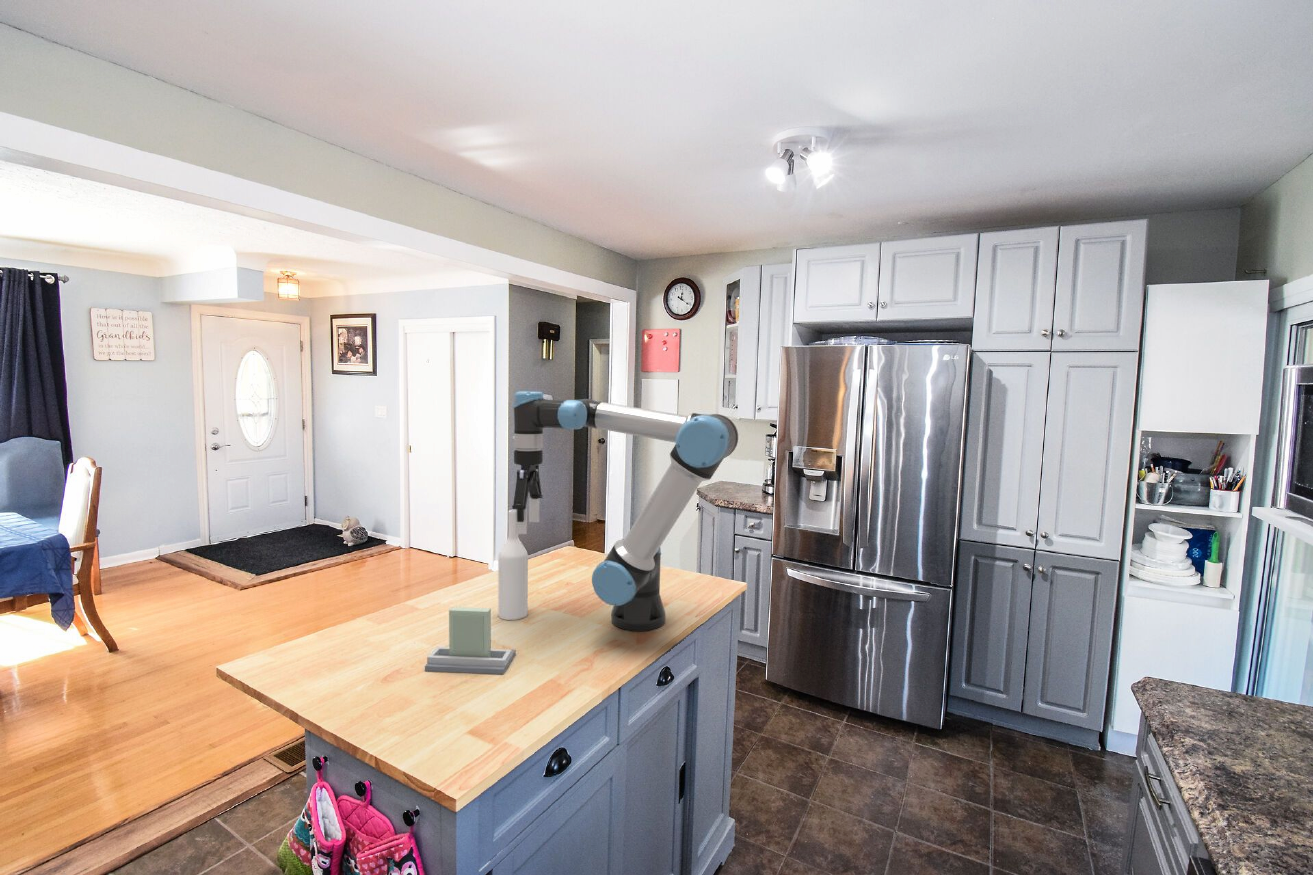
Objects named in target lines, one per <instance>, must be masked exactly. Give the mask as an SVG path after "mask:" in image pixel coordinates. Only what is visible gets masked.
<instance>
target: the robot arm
mask: <svg viewBox="0 0 1313 875" xmlns="http://www.w3.org/2000/svg"><path fill="white" fill-rule="evenodd" d="M513 415H514V416H513V417H514V418H513V420H514V422H513V425H514V428H513V431H514V432H513V433H514V434H513V436H512V437H511V439H512V440H513V441H514V442H513V443H514V444H513V445H514V446H513V447H514V448H515V449H514V451H513V463H514V464H515V465H518V466H520V470H519V469H517V471H516V482H515V489H514V498H513V505H511V506H512V509H511V510H516V534H518V535H527V534H528V522H529V523H540V499H543V494H542V487H541V486H542V485H541V479H540V468H539V467H540V465H542V464H543V458H544V455H543V454H544V452H543V450H542V449H543V447H544V434H543V432H544V430H543V429H557V430H558V429H559V430H560V429H562V430H566V431H570V430H580V429H582V428H583V427H585V428H592V429H599V430H603V431H604V430H605V431H610V432H616V433H621V434H627V435H632V436H636V437H643V438H647V439H648V438H649V439H653V440H659V441H664V442H669V443H673V444H674V443H675V445H674V446H673V448H672V449H671V452H670V453H669V458H670V465H669V466H668V467H667V469H666V471H665V473H664V474H663V476H662V477H661V479H660V481H659V482H658V484H657V485H656V487H655V488H654V491H653V492H652V494H651V496H649V499H648V500H647V502H646V503H645V505H644V507H643V509H642V510H641V512H640V514H639V515H638V517H637V518H636V520H635V521H634V523H633V525H632V527H631V528H630V530H629V531H628V533H627V535H626V536H625V538H622V539H618V540H616V541H615V543H614V544H613V546H612V548H611V550H610V551H609V553H607V555H606V556H605V557H606V558H605V559H604V560H603V561H601V562H599V563H598V564H597V565H596V567H595V569H594V570H593V572H592V574H591V575H592V576H591V585H592V587H593V591H594V593H595V595H596V596H597V597H598V598H599V599H600V600H601V601H602V602H603V603H605V604H607V605H609V606H612V610H611V617H610V619H611V620H610V622H611V623H612V624H613V626H615V627H617V628H620V629H622V630H626V631H633V632H635V631H636V632H644V631H651V630H655V629H659V628H661V627H662V626H664V624H665V623H666V611H665V608H664V604H663V602H662V601H663V600H662V597H661V594H660V589H661V588H660V587H661V586H660V585H661V584H660V583H661V558H662V556H661V555H662V552H661V546H662V545H663V543H664V541H665V540H666V538H667V537H668V535H669V534H670V532H671V530H672V529H673V527H674V526H675V524H676V523H677V521H678V520H679V518H680V516H681V514H682V513H683V512H684V510H685V508H686V506H687V505H688V504H689V502H690V500H691V499H692V498H693V496H694V494H695V492H696V491H697V489H698V488H699V487H700V484H701V483H702V482H705V481H710V480H711V479H712V477H713V476H714V475H715V473H716V471H717V470H718V468H719V467H720V465H721V463H722V462H723V461H724V459H725V458H728V457H729V456H730V455H732V454H733V452H734V451H735V450H736V447H737V446H738V442H739V432H738V429H737V426H736V424H735V423H734V422H733V420H731V419H730V418H729V417H727V416H725V415H722V414H718V413H713V414H712V413H711V414H705V413H704V414H703V413H696V412H691V413H690V414H689V415H684V414H679V413H678V414H677V413H671V412H664V411H659V410H652V409H646V408H641V407H635V406H634V407H633V406H627V405H621V404H615V403H611V402H603V401H597V400H595V399H592V398H582V399H545V398H544V394H543V392H542V391H527V390H526V391H521V390H520V391H517V392H515V394H514V403H513ZM529 497H530V498H529ZM528 498H529V499H528ZM528 501H529V502H528ZM527 504H529V505H528V508H527Z"/></svg>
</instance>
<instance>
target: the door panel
mask: <svg viewBox="0 0 1313 875" xmlns="http://www.w3.org/2000/svg"><path fill="white" fill-rule="evenodd" d="M491 622H492V609H491V608H490V607H470V606H469V607H468V606H465V607H464V606H459V607H458V606H452V607H451V608H450V609H448V634H449V635H448V643H449V644H448V647H449V656H458V657H482V658H491V649H492V643H491V642H492V638H491V637H492V628H491V627H492V623H491Z"/></svg>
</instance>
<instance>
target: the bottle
mask: <svg viewBox="0 0 1313 875" xmlns="http://www.w3.org/2000/svg"><path fill="white" fill-rule="evenodd" d="M528 554H529V553H528V551H527V549H526V548H525V546H524V544H523V543H522V541H521V540H520V538H519V534H516V509H510V510H508V533H507V539H506V541H505V543H504V544H503V546H502V548H501V549H500V551H499V553H498V560H497V561H498V564H497V565H498V568H497V569H498V570H497V572H498V580H497V582H498V592H497V593H498V594H497V595H498V597H497V598H498V600H497V601H498V604H497V605H498V606H497V607H498V608H497V609H498V610H497V611H498V617H499V619H501V620H506V621H516V620H521V619H523V618H525V617H527V616H528V612H529V610H528V609H529V607H528V606H529V603H528V601H529V600H528V599H529V589H528V588H529V586H528V585H529V577H528V574H529V558H528V557H529V556H528Z"/></svg>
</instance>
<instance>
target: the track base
mask: <svg viewBox="0 0 1313 875" xmlns="http://www.w3.org/2000/svg"><path fill="white" fill-rule="evenodd" d="M516 651H517V650H516V649H507V648H506V649H505V648H504V649H502V648H491V658H482V657H458V656H449V646H436V647H435V648H434V649H433V650H432V651H431V653H429V655H427V656H426V664H425V665H424V671H425V672H436V673H437V672H439V673H460V674H462V673H463V674H483V675H484V674H486V675H504V674H505V673H506V671H507V669H508V668H509V666H510V664H511V662H512V661H513V660H514V658H515V657H516V655H517V653H516Z"/></svg>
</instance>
